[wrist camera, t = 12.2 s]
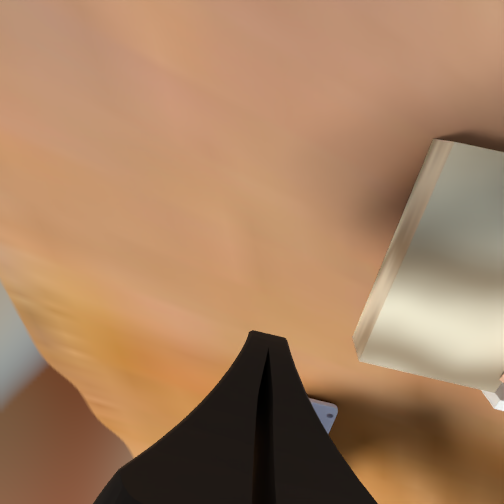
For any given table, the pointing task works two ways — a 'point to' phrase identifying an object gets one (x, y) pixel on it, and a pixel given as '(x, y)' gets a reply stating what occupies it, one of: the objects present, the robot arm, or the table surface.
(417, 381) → the table surface
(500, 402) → the tray
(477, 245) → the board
